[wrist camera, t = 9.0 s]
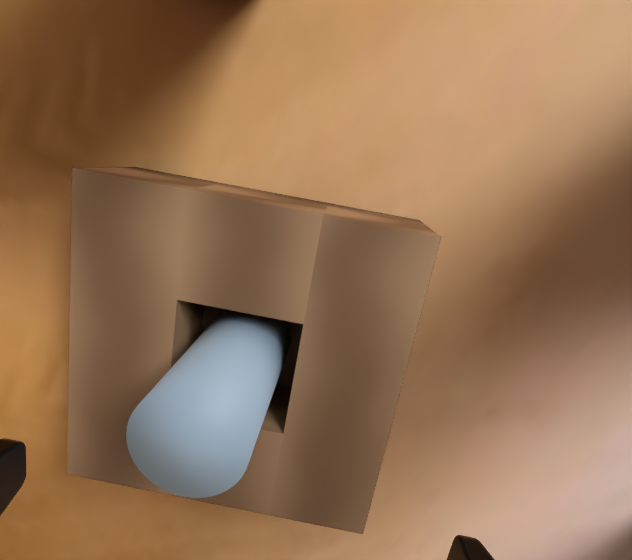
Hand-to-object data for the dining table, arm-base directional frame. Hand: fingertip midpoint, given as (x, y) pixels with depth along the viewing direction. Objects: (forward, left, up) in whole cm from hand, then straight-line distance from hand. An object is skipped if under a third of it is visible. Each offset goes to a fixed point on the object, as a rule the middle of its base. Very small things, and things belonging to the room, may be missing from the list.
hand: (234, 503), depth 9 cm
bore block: (+2, +1, -12) cm, 12 cm away
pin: (+2, +1, -11) cm, 11 cm away
